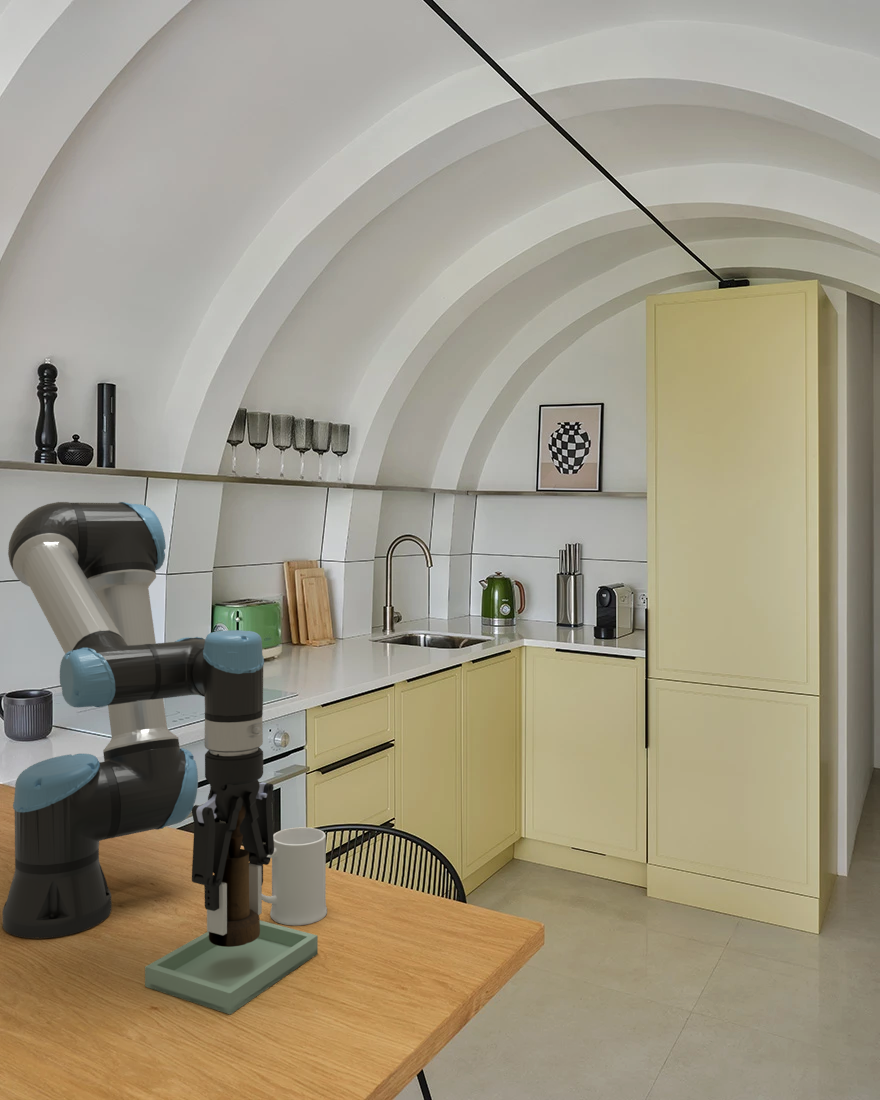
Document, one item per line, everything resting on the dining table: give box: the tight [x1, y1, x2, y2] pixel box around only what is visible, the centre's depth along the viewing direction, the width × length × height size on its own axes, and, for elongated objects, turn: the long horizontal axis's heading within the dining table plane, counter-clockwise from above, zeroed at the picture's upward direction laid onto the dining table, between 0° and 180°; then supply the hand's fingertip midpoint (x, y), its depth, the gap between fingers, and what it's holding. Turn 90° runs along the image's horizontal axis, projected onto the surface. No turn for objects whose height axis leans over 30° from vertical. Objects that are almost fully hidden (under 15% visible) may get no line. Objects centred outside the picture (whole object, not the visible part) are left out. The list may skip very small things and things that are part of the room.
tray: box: [144, 920, 319, 1015], centre depth 124 cm, size 14×18×3 cm
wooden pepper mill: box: [209, 805, 260, 947], centre depth 124 cm, size 7×6×18 cm
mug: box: [262, 826, 328, 927], centre depth 141 cm, size 12×8×12 cm
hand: (234, 921), depth 124 cm, fingers closed on wooden pepper mill, 6 cm apart
